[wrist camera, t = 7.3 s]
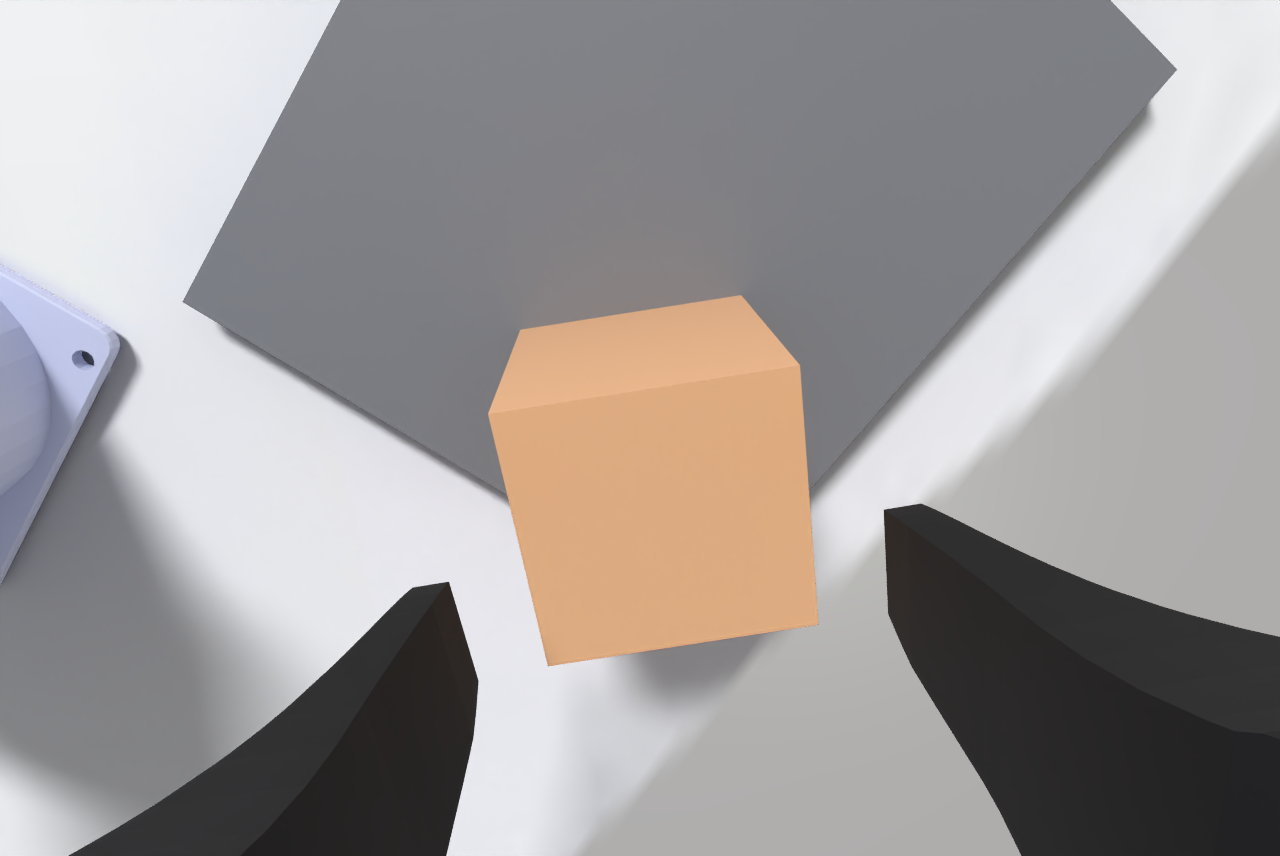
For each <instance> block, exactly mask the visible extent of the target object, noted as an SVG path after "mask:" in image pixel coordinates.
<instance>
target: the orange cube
mask: <svg viewBox="0 0 1280 856" xmlns="http://www.w3.org/2000/svg"><path fill="white" fill-rule="evenodd" d="M488 416H489V420H490V424H491V429H492V433H493V437H494V441H495V445H496V450H497V454H498V458H499V462H500V466H501V471H502V475H503V479H504V483H505V487H506V492H507V496H508V500H509V504H510V508H511V513H512V517H513V521H514V525H515V529H516V534H517V538H518V542H519V546H520V550H521V555H522V559H523V563H524V567H525V571H526V576H527V580H528V584H529V588H530V592H531V597H532V601H533V605H534V609H535V613H536V618H537V622H538V626H539V630H540V634H541V639H542V643H543V647H544V651H545V655H546V660H547V664H548V666H553V665H559V664H566V663H573V662H579V661H586V660H592V659H599V658H605V657H612V656H618V655H625V654H631V653H638V652H644V651H651V650H657V649H664V648H670V647H677V646H683V645H690V644H696V643H703V642H709V641H716V640H722V639H729V638H735V637H742V636H748V635H755V634H761V633H768V632H774V631H781V630H787V629H794V628H800V627H807V626H813V625H818V611H817V597H816V583H815V569H814V555H813V541H812V527H811V513H810V499H809V485H808V471H807V457H806V443H805V429H804V414H803V400H802V386H801V372H800V365H799V363H798V362H797V361H796V360H795V359H794V358H793V356H792V355H791V354H790V353H789V352H788V350H787V349H786V348H785V347H784V346H783V344H782V343H781V342H780V341H779V340H778V338H777V337H776V336H775V335H774V334H773V332H772V331H771V330H770V329H769V328H768V327H767V325H766V324H765V323H764V322H763V321H762V319H761V318H760V317H759V316H758V315H757V313H756V312H755V311H754V310H753V309H752V307H751V306H750V305H749V304H748V303H747V301H746V300H745V299H744V298H743V297H742V296H741V295H739V296H732V297H726V298H720V299H713V300H707V301H701V302H694V303H688V304H682V305H675V306H669V307H662V308H656V309H650V310H643V311H637V312H631V313H624V314H618V315H611V316H605V317H599V318H592V319H586V320H580V321H573V322H567V323H560V324H554V325H548V326H541V327H535V328H529V329H522V330H520V332H519V334H518V337H517V340H516V342H515V345H514V347H513V350H512V353H511V355H510V358H509V361H508V363H507V366H506V368H505V371H504V374H503V376H502V379H501V381H500V384H499V387H498V389H497V392H496V394H495V397H494V400H493V402H492V405H491V407H490V410H489V413H488Z"/></svg>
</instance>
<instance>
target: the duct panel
mask: <svg viewBox="0 0 1280 856" xmlns="http://www.w3.org/2000/svg"><path fill="white" fill-rule="evenodd" d="M1176 70H1177V69H1176V68H1175V67H1174V66H1173V65H1172V64H1171V63H1170V62H1169V61H1168V60H1167V59H1166V58H1165V57H1164V55H1163V54H1162V53H1161V52H1160V51H1159V50H1158V49H1157V48H1156V47H1155V46H1154V45H1153V44H1152V43H1151V42H1150V41H1149V40H1148V39H1147V38H1146V37H1145V36H1144V35H1143V34H1142V33H1141V32H1140V31H1139V30H1138V29H1137V28H1136V26H1135V25H1134V24H1133V23H1132V22H1131V21H1130V20H1129V19H1128V18H1127V17H1126V16H1125V15H1124V14H1123V13H1122V12H1121V11H1120V10H1119V9H1118V8H1117V7H1116V6H1115V5H1114V4H1113V3H1112V2H1111V1H1110V0H341V1H340V3H339V5H338V6H337V8H336V10H335V12H334V14H333V16H332V18H331V20H330V22H329V24H328V25H327V27H326V29H325V31H324V33H323V35H322V37H321V39H320V41H319V43H318V45H317V46H316V48H315V50H314V52H313V54H312V56H311V58H310V60H309V62H308V64H307V66H306V67H305V69H304V71H303V73H302V75H301V77H300V79H299V81H298V83H297V85H296V87H295V88H294V90H293V92H292V94H291V96H290V98H289V100H288V102H287V104H286V106H285V108H284V109H283V111H282V113H281V115H280V117H279V119H278V121H277V123H276V125H275V127H274V128H273V130H272V132H271V134H270V136H269V138H268V140H267V142H266V144H265V146H264V148H263V149H262V151H261V153H260V155H259V157H258V159H257V161H256V163H255V165H254V167H253V169H252V170H251V172H250V174H249V176H248V178H247V180H246V182H245V184H244V186H243V188H242V190H241V191H240V193H239V195H238V197H237V199H236V201H235V203H234V205H233V207H232V209H231V210H230V212H229V214H228V216H227V218H226V220H225V222H224V224H223V226H222V228H221V230H220V231H219V233H218V235H217V237H216V239H215V241H214V243H213V245H212V247H211V249H210V251H209V252H208V254H207V256H206V258H205V260H204V262H203V264H202V266H201V268H200V270H199V272H198V273H197V275H196V277H195V279H194V281H193V283H192V285H191V287H190V289H189V291H188V292H187V294H186V296H185V298H184V300H183V302H184V303H185V304H187V305H189V306H190V307H192V308H194V309H195V310H197V311H199V312H200V313H202V314H204V315H205V316H207V317H209V318H210V319H212V320H214V321H215V322H217V323H219V324H220V325H222V326H224V327H225V328H227V329H229V330H230V331H232V332H234V333H236V334H237V335H239V336H241V337H242V338H244V339H246V340H247V341H249V342H251V343H252V344H254V345H256V346H257V347H259V348H261V349H262V350H264V351H266V352H267V353H269V354H271V355H272V356H274V357H276V358H277V359H279V360H281V361H283V362H284V363H286V364H288V365H289V366H291V367H293V368H294V369H296V370H298V371H299V372H301V373H303V374H304V375H306V376H308V377H309V378H311V379H313V380H314V381H316V382H318V383H319V384H321V385H323V386H324V387H326V388H328V389H329V390H331V391H333V392H335V393H336V394H338V395H340V396H341V397H343V398H345V399H346V400H348V401H350V402H351V403H353V404H355V405H356V406H358V407H360V408H361V409H363V410H365V411H366V412H368V413H370V414H371V415H373V416H375V417H376V418H378V419H380V420H381V421H383V422H385V423H387V424H388V425H390V426H392V427H393V428H395V429H397V430H398V431H400V432H402V433H403V434H405V435H407V436H408V437H410V438H412V439H413V440H415V441H417V442H418V443H420V444H422V445H423V446H425V447H427V448H428V449H430V450H432V451H433V452H435V453H437V454H439V455H440V456H442V457H444V458H445V459H447V460H449V461H450V462H452V463H454V464H455V465H457V466H459V467H460V468H462V469H464V470H465V471H467V472H469V473H470V474H472V475H474V476H475V477H477V478H479V479H480V480H482V481H484V482H485V483H487V484H489V485H491V486H492V487H494V488H496V489H497V490H499V491H501V492H502V493H504V494H506V495H507V492H506V487H505V483H504V479H503V475H502V471H501V466H500V462H499V458H498V454H497V450H496V445H495V441H494V437H493V433H492V429H491V424H490V420H489V416H488V413H489V410H490V407H491V405H492V402H493V400H494V397H495V394H496V392H497V389H498V387H499V384H500V381H501V379H502V376H503V374H504V371H505V368H506V366H507V363H508V361H509V358H510V355H511V353H512V350H513V347H514V345H515V342H516V340H517V337H518V334H519V332H520V330H522V329H529V328H535V327H541V326H548V325H554V324H560V323H567V322H573V321H580V320H586V319H592V318H599V317H605V316H611V315H618V314H624V313H631V312H637V311H643V310H650V309H656V308H662V307H669V306H675V305H682V304H688V303H694V302H701V301H707V300H713V299H720V298H726V297H732V296H739V295H741V296H742V297H743V298H744V299H745V300H746V301H747V303H748V304H749V305H750V306H751V307H752V309H753V310H754V311H755V312H756V313H757V315H758V316H759V317H760V318H761V319H762V321H763V322H764V323H765V324H766V325H767V327H768V328H769V329H770V330H771V331H772V332H773V334H774V335H775V336H776V337H777V338H778V340H779V341H780V342H781V343H782V344H783V346H784V347H785V348H786V349H787V350H788V352H789V353H790V354H791V355H792V356H793V358H794V359H795V360H796V361H797V362H798V363H799V365H800V372H801V386H802V400H803V414H804V429H805V443H806V457H807V471H808V485H809V490H810V489H811V488H812V487H813V486H814V485H815V484H816V482H817V481H818V480H819V479H820V478H821V477H822V476H823V474H824V473H825V472H826V471H827V470H828V469H829V468H830V466H831V465H832V464H833V463H834V462H835V461H836V460H837V458H838V457H839V456H840V455H841V454H842V453H843V452H844V450H845V449H846V448H847V447H848V446H849V445H850V443H851V442H852V441H853V440H854V439H855V438H856V437H857V435H858V434H859V433H860V432H861V431H862V430H863V429H864V427H865V426H866V425H867V424H868V423H869V422H870V421H871V419H872V418H873V417H874V416H875V415H876V414H877V413H878V411H879V410H880V409H881V408H882V407H883V406H884V405H885V403H886V402H887V401H888V400H889V399H890V398H891V397H892V395H893V394H894V393H895V392H896V391H897V390H898V389H899V387H900V386H901V385H902V384H903V383H904V382H905V381H906V379H907V378H908V377H909V376H910V375H911V374H912V373H913V371H914V370H915V369H916V368H917V367H918V366H919V364H920V363H921V362H922V361H923V360H924V359H925V358H926V356H927V355H928V354H929V353H930V352H931V351H932V350H933V348H934V347H935V346H936V345H937V344H938V343H939V342H940V340H941V339H942V338H943V337H944V336H945V335H946V334H947V332H948V331H949V330H950V329H951V328H952V327H953V326H954V324H955V323H956V322H957V321H958V320H959V319H960V318H961V316H962V315H963V314H964V313H965V312H966V311H967V310H968V308H969V307H970V306H971V305H972V304H973V303H974V302H975V300H976V299H977V298H978V297H979V296H980V295H981V294H982V292H983V291H984V290H985V289H986V288H987V287H988V286H989V284H990V283H991V282H992V281H993V280H994V279H995V277H996V276H997V275H998V274H999V273H1000V272H1001V271H1002V269H1003V268H1004V267H1005V266H1006V265H1007V264H1008V263H1009V261H1010V260H1011V259H1012V258H1013V257H1014V256H1015V255H1016V253H1017V252H1018V251H1019V250H1020V249H1021V248H1022V247H1023V245H1024V244H1025V243H1026V242H1027V241H1028V240H1029V239H1030V237H1031V236H1032V235H1033V234H1034V233H1035V232H1036V231H1037V229H1038V228H1039V227H1040V226H1041V225H1042V224H1043V223H1044V221H1045V220H1046V219H1047V218H1048V217H1049V216H1050V215H1051V213H1052V212H1053V211H1054V210H1055V209H1056V208H1057V207H1058V205H1059V204H1060V203H1061V202H1062V201H1063V200H1064V198H1065V197H1066V196H1067V195H1068V194H1069V193H1070V192H1071V190H1072V189H1073V188H1074V187H1075V186H1076V185H1077V184H1078V182H1079V181H1080V180H1081V179H1082V178H1083V177H1084V176H1085V174H1086V173H1087V172H1088V171H1089V170H1090V169H1091V168H1092V166H1093V165H1094V164H1095V163H1096V162H1097V161H1098V160H1099V158H1100V157H1101V156H1102V155H1103V154H1104V153H1105V152H1106V150H1107V149H1108V148H1109V147H1110V146H1111V145H1112V144H1113V142H1114V141H1115V140H1116V139H1117V138H1118V137H1119V136H1120V134H1121V133H1122V132H1123V131H1124V130H1125V129H1126V128H1127V126H1128V125H1129V124H1130V123H1131V122H1132V121H1133V120H1134V118H1135V117H1136V116H1137V115H1138V114H1139V113H1140V111H1141V110H1142V109H1143V108H1144V107H1145V106H1146V105H1147V103H1148V102H1149V101H1150V100H1151V99H1152V98H1153V97H1154V95H1155V94H1156V93H1157V92H1158V91H1159V90H1160V89H1161V87H1162V86H1163V85H1164V84H1165V83H1166V82H1167V81H1168V79H1169V78H1170V77H1171V76H1172V75H1173V74H1174V73H1175V71H1176Z"/></svg>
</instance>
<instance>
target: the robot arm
mask: <svg viewBox="0 0 1280 856" xmlns="http://www.w3.org/2000/svg"><path fill="white" fill-rule="evenodd" d="M119 348H120V342H119V338H118V336H117V335H116V333H115V332H114V330H112V329H111V328H110V327H109V326H107V325H106V324H104V323H102V322H100V321H99V320H97V319H95V318H93V317H92V316H90V315H88V314H86V313H85V312H83V311H81V310H79V309H78V308H76V307H74V306H72V305H71V304H69V303H67V302H65V301H64V300H62V299H60V298H58V297H57V296H55V295H53V294H51V293H50V292H48V291H46V290H44V289H43V288H41V287H39V286H37V285H36V284H34V283H32V282H30V281H29V280H27V279H25V278H24V277H22V276H20V275H18V274H17V273H15V272H13V271H11V270H10V269H8V268H6V267H4V266H3V265H1V264H0V585H1V583H2V581H3V579H4V577H5V575H6V573H7V571H8V569H9V567H10V565H11V563H12V561H13V559H14V557H15V555H16V553H17V551H18V549H19V547H20V545H21V543H22V542H23V540H24V538H25V536H26V534H27V532H28V530H29V528H30V526H31V524H32V522H33V520H34V518H35V516H36V514H37V512H38V510H39V508H40V506H41V504H42V502H43V500H44V498H45V496H46V494H47V492H48V490H49V488H50V486H51V484H52V482H53V480H54V478H55V476H56V474H57V473H58V471H59V469H60V467H61V465H62V463H63V461H64V459H65V457H66V455H67V453H68V451H69V449H70V447H71V445H72V443H73V441H74V439H75V437H76V435H77V433H78V431H79V429H80V427H81V425H82V423H83V421H84V419H85V417H86V415H87V413H88V411H89V409H90V407H91V406H92V404H93V402H94V400H95V398H96V396H97V394H98V392H99V390H100V388H101V386H102V384H103V382H104V380H105V378H106V376H107V374H108V372H109V370H110V368H111V366H112V364H113V362H114V360H115V358H116V356H117V354H118V352H119ZM82 351H86V352H88V353H89V354H90V355H91V356H92V357H93V359H94V366H93V365H90V364H88V363H87V362H86V361H84V359H83V357H82ZM884 526H885V549H886V571H887V595H888V614H889V617H890V619H891V621H892V623H893V626H894V628H895V631H896V633H897V635H898V637H899V640H900V642H901V644H902V647H903V649H904V651H905V653H906V655H907V657H908V660H909V662H910V664H911V666H912V668H913V669H914V671H915V673H916V674H917V676H918V678H919V679H920V681H921V683H922V684H923V686H924V688H925V689H926V691H927V692H928V694H929V696H930V697H931V699H932V701H933V702H934V704H935V706H936V707H937V709H938V710H939V712H940V714H941V715H942V717H943V718H944V720H945V722H946V723H947V725H948V726H949V728H950V730H951V731H952V733H953V734H954V736H955V738H956V739H957V741H958V742H959V744H960V746H961V747H962V749H963V750H964V752H965V754H966V755H967V757H968V758H969V760H970V762H971V763H972V765H973V766H974V768H975V770H976V771H977V773H978V774H979V776H980V778H981V779H982V781H983V783H984V784H985V786H986V788H987V790H988V791H989V793H990V795H991V797H992V798H993V800H994V802H995V804H996V805H997V807H998V809H999V811H1000V813H1001V815H1002V817H1003V819H1004V821H1005V823H1006V825H1007V827H1008V829H1009V831H1010V833H1011V835H1012V837H1013V839H1014V841H1015V843H1016V845H1017V847H1018V849H1019V852H1020V854H1021V856H1280V637H1277V636H1273V635H1268V634H1264V633H1260V632H1255V631H1250V630H1246V629H1242V628H1238V627H1234V626H1230V625H1226V624H1223V623H1219V622H1215V621H1211V620H1208V619H1204V618H1200V617H1196V616H1192V615H1189V614H1185V613H1182V612H1178V611H1175V610H1172V609H1168V608H1165V607H1161V606H1159V605H1156V604H1153V603H1150V602H1147V601H1143V600H1141V599H1138V598H1135V597H1132V596H1129V595H1126V594H1123V593H1120V592H1117V591H1114V590H1111V589H1109V588H1106V587H1103V586H1101V585H1098V584H1095V583H1093V582H1090V581H1087V580H1085V579H1083V578H1080V577H1078V576H1075V575H1073V574H1071V573H1068V572H1066V571H1063V570H1061V569H1058V568H1056V567H1054V566H1051V565H1049V564H1047V563H1045V562H1042V561H1040V560H1038V559H1036V558H1034V557H1031V556H1029V555H1027V554H1025V553H1023V552H1020V551H1018V550H1016V549H1014V548H1012V547H1010V546H1008V545H1006V544H1004V543H1001V542H1000V541H997V540H996V539H993V538H992V537H989V536H987V535H985V534H983V533H981V532H979V531H977V530H975V529H973V528H971V527H969V526H967V525H965V524H964V523H961V522H960V521H958V520H956V519H953V518H951V517H949V516H947V515H945V514H943V513H941V512H939V511H937V510H935V509H932V508H930V507H928V506H926V505H923V504H916V505H910V506H904V507H898V508H892V509H886V510H884ZM477 693H478V678H477V675H476V671H475V668H474V665H473V661H472V658H471V655H470V651H469V648H468V644H467V641H466V638H465V634H464V631H463V628H462V624H461V621H460V618H459V614H458V611H457V608H456V604H455V601H454V597H453V594H452V591H451V587H450V584H449V582H445V583H438V584H432V585H426V586H420V587H414V588H412V589H411V590H409V591H408V592H407V593H406V594H405V595H404V596H403V597H401V598H400V599H399V600H398V601H397V602H396V603H395V604H394V605H393V606H392V607H391V608H390V609H389V610H388V611H387V612H386V613H385V614H384V615H383V616H382V617H381V618H380V619H379V620H378V621H377V622H376V623H375V624H374V625H373V626H372V627H371V628H370V630H369V631H368V632H367V633H366V634H365V635H364V636H363V637H362V638H360V639H359V640H358V641H357V642H356V643H355V644H354V645H353V646H352V647H351V648H350V649H349V650H348V651H347V652H346V653H345V654H344V655H343V656H342V657H341V658H340V659H339V660H338V661H337V662H336V663H335V664H334V665H333V666H332V667H331V668H330V669H329V670H328V671H327V672H326V673H325V674H323V675H322V676H321V677H320V678H319V679H318V680H317V681H316V682H315V683H314V684H312V685H311V686H310V687H309V688H308V689H307V690H306V691H305V692H304V693H303V694H302V695H300V696H299V697H298V698H297V699H296V700H295V701H294V702H293V703H292V704H291V705H290V706H288V707H287V708H286V709H285V710H284V711H283V712H281V713H280V714H279V715H278V716H277V717H275V718H274V719H273V720H272V721H271V722H269V723H268V724H267V725H266V726H265V727H263V728H262V729H261V730H260V731H258V732H257V733H256V734H254V735H253V736H252V737H251V738H249V739H248V740H247V741H245V742H244V743H243V744H241V745H240V746H239V747H238V748H236V749H235V750H234V751H232V752H231V753H230V754H228V755H227V756H226V757H224V758H223V759H222V760H220V761H219V762H217V763H216V764H214V765H213V766H212V767H210V768H209V769H207V770H206V771H204V772H203V773H201V774H200V775H198V776H197V777H195V778H194V779H192V780H191V781H189V782H188V783H187V784H185V785H184V786H182V787H181V788H179V789H178V790H176V791H175V792H173V793H172V794H170V795H169V796H167V797H166V798H164V799H163V800H161V801H160V802H159V803H157V804H155V805H154V806H152V807H151V808H149V809H147V810H146V811H144V812H143V813H141V814H139V815H138V816H136V817H134V818H133V819H131V820H129V821H128V822H126V823H124V824H123V825H121V826H120V827H118V828H116V829H115V830H113V831H111V832H109V833H108V834H106V835H104V836H102V837H101V838H99V839H97V840H95V841H94V842H92V843H90V844H88V845H87V846H85V847H83V848H81V849H80V850H78V851H76V852H74V853H73V854H71V855H69V856H446V854H447V850H448V846H449V841H450V837H451V833H452V829H453V824H454V820H455V816H456V812H457V807H458V803H459V799H460V795H461V790H462V786H463V782H464V777H465V773H466V768H467V764H468V760H469V755H470V751H471V746H472V741H473V736H474V726H475V717H476V706H477Z"/></svg>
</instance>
